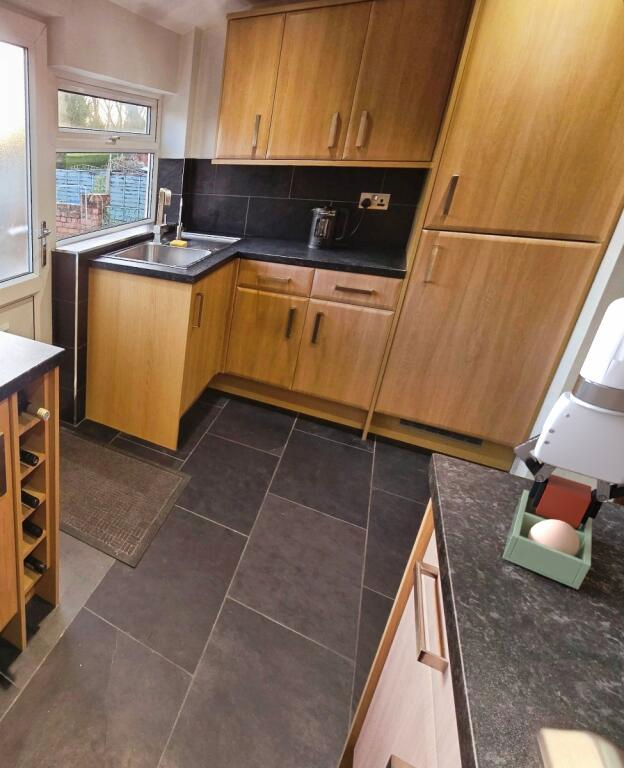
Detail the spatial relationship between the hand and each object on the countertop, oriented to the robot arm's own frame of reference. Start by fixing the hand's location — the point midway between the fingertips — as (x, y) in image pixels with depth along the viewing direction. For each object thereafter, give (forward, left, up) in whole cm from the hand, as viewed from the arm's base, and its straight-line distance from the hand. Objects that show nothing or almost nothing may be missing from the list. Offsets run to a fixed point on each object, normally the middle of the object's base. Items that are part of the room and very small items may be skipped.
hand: (558, 509), depth 71 cm
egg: (+5, +5, -4) cm, 8 cm away
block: (0, 0, -1) cm, 1 cm away
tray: (+3, +3, -4) cm, 6 cm away
